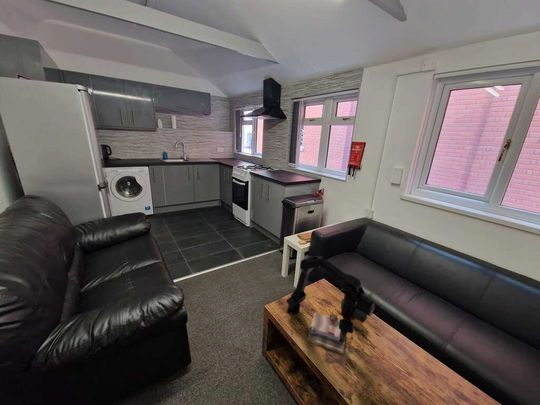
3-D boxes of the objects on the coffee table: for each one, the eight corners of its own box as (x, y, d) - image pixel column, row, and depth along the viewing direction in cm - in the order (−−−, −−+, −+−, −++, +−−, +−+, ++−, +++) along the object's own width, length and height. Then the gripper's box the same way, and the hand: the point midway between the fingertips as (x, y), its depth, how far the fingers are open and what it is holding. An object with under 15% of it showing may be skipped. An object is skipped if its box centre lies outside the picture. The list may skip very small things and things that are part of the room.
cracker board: (307, 340, 114) (308, 333, 112) (314, 314, 131) (315, 308, 129) (343, 354, 108) (344, 347, 106) (345, 324, 125) (346, 318, 123)
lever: (308, 334, 115) (309, 322, 113) (309, 328, 119) (311, 317, 116) (344, 347, 109) (346, 335, 107) (344, 341, 112) (347, 329, 110)
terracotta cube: (328, 334, 116) (328, 331, 115) (328, 331, 118) (329, 328, 117) (333, 336, 115) (334, 333, 114) (334, 333, 117) (334, 330, 116)
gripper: (368, 323, 93) (361, 350, 97) (366, 295, 109) (361, 319, 114) (341, 314, 96) (336, 341, 101) (343, 288, 113) (339, 312, 118)
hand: (344, 328), depth 108 cm, fingers open, 9 cm apart
